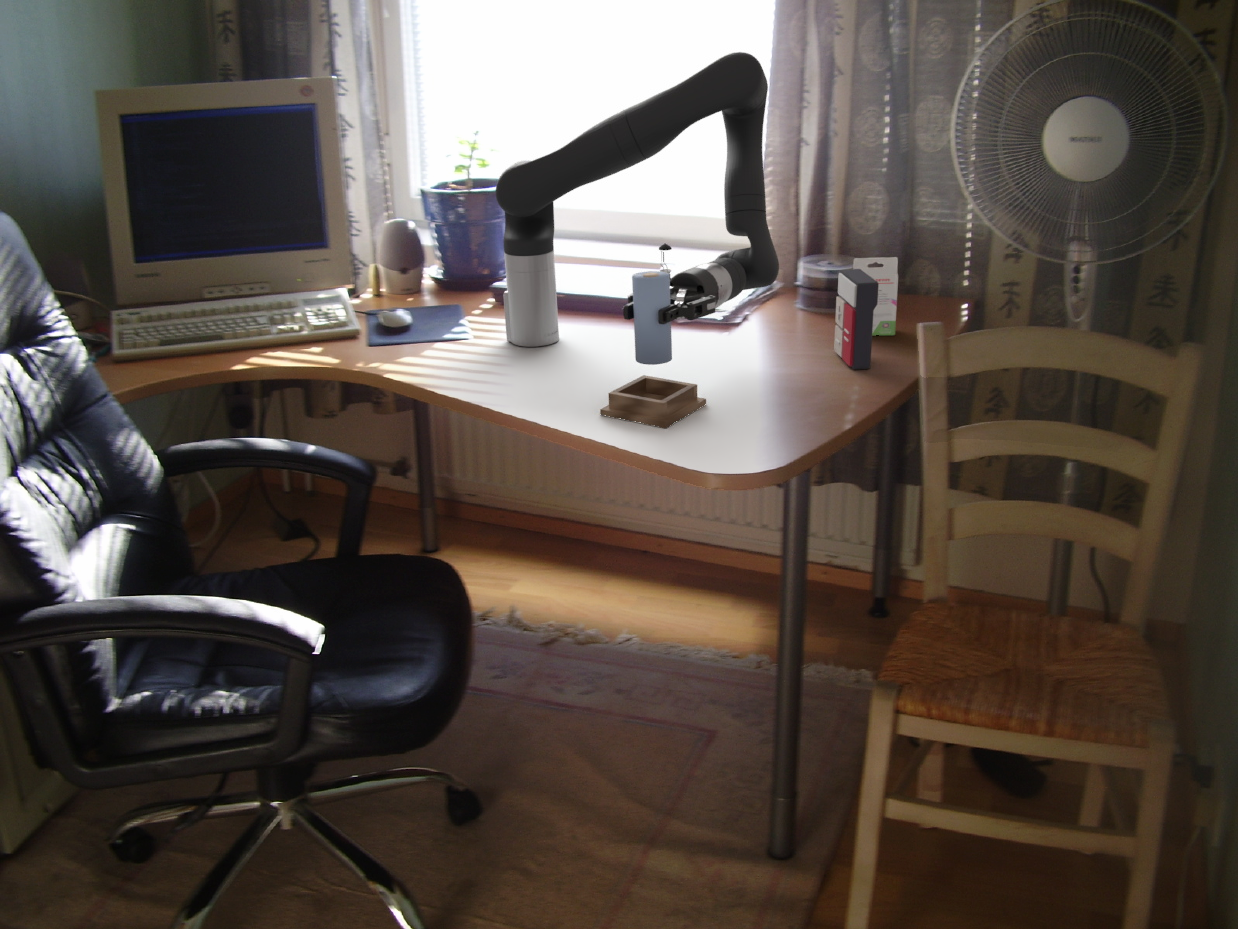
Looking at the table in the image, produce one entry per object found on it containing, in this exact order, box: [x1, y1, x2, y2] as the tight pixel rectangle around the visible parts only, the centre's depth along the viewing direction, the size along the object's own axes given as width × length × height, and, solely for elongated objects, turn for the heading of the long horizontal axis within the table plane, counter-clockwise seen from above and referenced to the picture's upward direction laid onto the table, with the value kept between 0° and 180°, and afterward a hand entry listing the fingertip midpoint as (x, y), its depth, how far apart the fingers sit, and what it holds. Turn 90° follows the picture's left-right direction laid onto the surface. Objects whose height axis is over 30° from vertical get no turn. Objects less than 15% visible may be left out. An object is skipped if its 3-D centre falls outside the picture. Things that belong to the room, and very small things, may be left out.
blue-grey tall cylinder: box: [631, 270, 673, 366], centre depth 163 cm, size 6×6×13 cm
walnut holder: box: [599, 374, 707, 429], centre depth 168 cm, size 12×12×4 cm
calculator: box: [833, 268, 879, 371], centre depth 186 cm, size 11×4×15 cm, turn 5°
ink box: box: [852, 256, 899, 337], centre depth 201 cm, size 9×5×15 cm, turn 84°
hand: (643, 315), depth 161 cm, fingers closed on blue-grey tall cylinder, 5 cm apart
